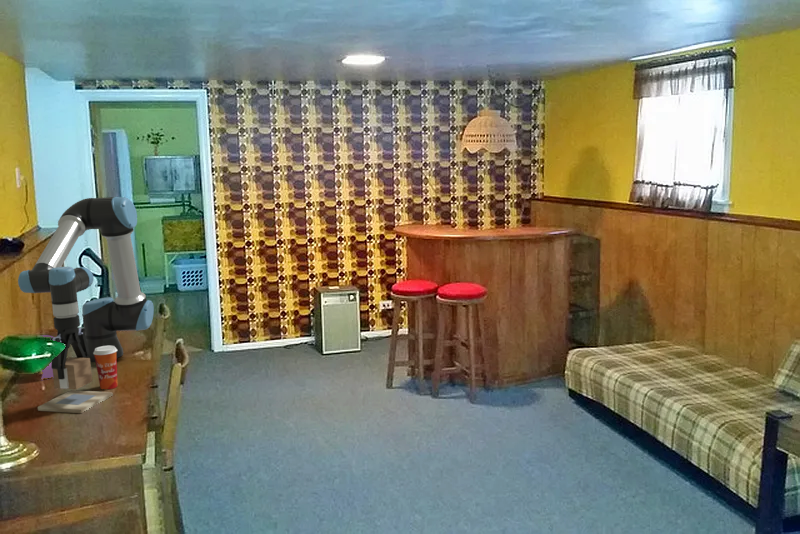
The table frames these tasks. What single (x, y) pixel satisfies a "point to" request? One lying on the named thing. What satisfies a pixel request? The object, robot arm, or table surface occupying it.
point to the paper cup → (106, 366)
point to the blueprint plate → (75, 401)
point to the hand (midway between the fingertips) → (73, 383)
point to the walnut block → (75, 372)
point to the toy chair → (48, 370)
